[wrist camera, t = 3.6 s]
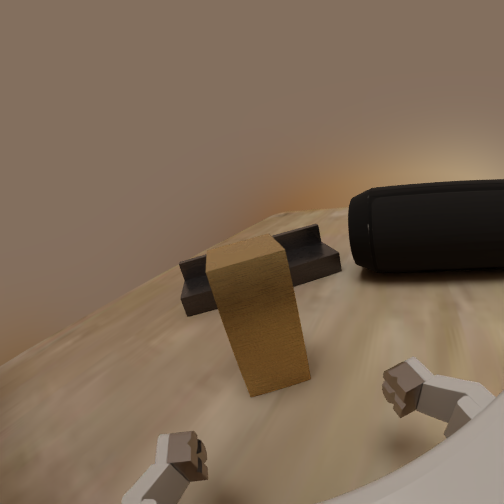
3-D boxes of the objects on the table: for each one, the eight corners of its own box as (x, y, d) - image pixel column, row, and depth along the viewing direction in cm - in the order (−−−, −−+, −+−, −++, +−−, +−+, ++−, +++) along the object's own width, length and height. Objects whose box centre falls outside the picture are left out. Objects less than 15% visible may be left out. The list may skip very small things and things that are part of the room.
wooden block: (250, 397, 18) (205, 271, 15) (243, 361, 22) (206, 250, 19) (310, 379, 18) (284, 249, 15) (294, 346, 22) (268, 233, 19)
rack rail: (341, 270, 34) (335, 233, 32) (187, 316, 32) (173, 279, 31) (321, 255, 40) (315, 223, 39) (190, 293, 39) (179, 262, 38)
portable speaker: (527, 247, 22) (528, 174, 19) (553, 281, 14) (560, 188, 11) (368, 254, 37) (357, 184, 34) (352, 288, 29) (339, 199, 26)
